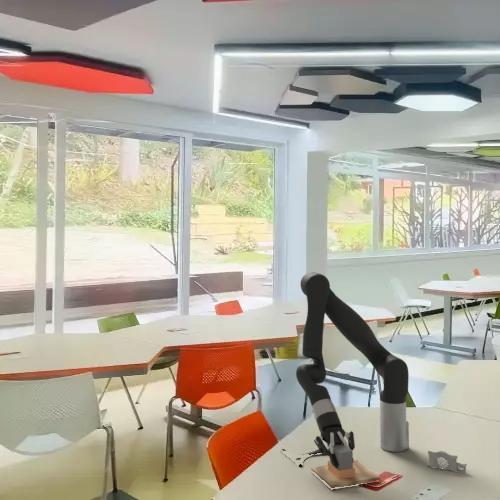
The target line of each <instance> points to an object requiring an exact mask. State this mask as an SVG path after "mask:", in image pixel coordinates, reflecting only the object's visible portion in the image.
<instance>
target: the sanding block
mask: <svg viewBox="0 0 500 500" xmlns="http://www.w3.org/2000/svg"><path fill="white" fill-rule="evenodd" d="M333 449H334V454H335V455H336V458H337V461H338V463H339V466H338V467H337V468H335V467H334V466H333V465H332V463H331V460H330V459H329V461H328V460H327V465H328V470H329V471H330V472H332V473H333V474H334V475H335V476H336V477H337V478H339V479H344V478H349V477H355V468H354V467H353V459H354V457H353V456H354V455H353V451H354V450H353V451H352V450H351V449H349V448H348V447H347V446H344V445H342V444H336V445H334V447H333Z"/></svg>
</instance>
